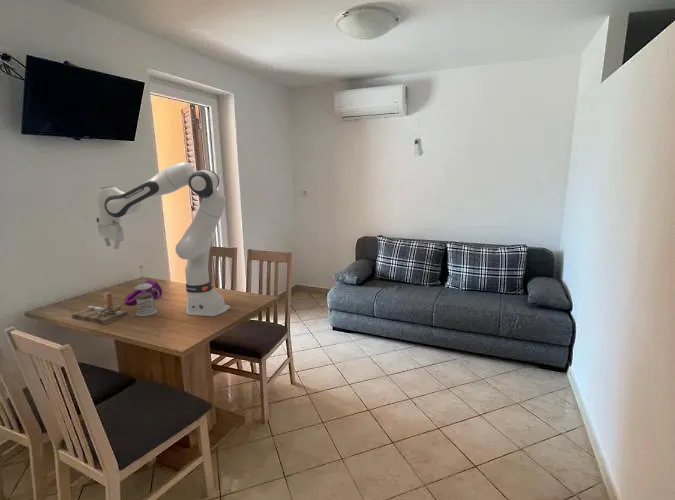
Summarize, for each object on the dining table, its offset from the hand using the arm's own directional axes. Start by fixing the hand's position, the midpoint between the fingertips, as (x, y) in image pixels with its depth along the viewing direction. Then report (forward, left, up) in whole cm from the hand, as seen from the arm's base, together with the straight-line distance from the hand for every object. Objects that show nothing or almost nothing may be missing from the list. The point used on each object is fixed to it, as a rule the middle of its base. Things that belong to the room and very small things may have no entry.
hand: (112, 247), depth 189 cm
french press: (-14, -5, -34) cm, 37 cm away
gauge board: (+4, +8, -34) cm, 35 cm away
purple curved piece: (+5, -18, -34) cm, 39 cm away
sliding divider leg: (0, +8, -31) cm, 32 cm away
